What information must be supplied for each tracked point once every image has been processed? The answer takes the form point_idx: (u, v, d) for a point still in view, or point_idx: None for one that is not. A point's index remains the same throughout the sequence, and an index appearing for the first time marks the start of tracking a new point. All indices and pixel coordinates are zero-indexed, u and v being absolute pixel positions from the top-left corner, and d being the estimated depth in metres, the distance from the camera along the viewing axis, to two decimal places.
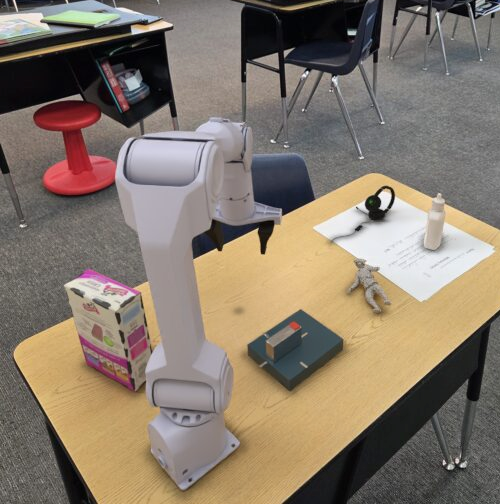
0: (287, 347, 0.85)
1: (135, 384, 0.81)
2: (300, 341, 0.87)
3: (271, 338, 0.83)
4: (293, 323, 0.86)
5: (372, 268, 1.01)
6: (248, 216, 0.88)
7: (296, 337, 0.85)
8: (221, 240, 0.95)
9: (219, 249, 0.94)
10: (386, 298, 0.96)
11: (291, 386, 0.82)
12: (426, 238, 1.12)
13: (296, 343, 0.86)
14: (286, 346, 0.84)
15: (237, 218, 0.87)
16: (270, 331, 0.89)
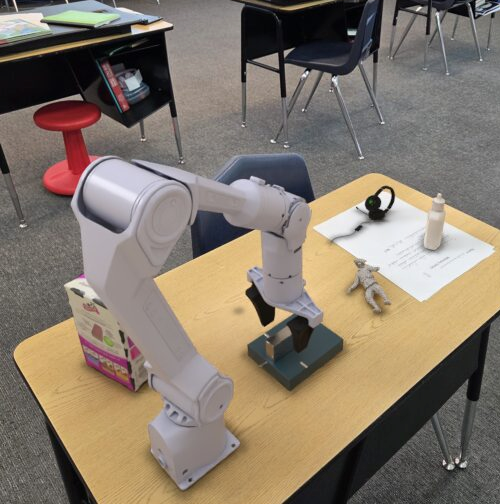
0: (287, 347, 0.85)
1: (135, 384, 0.81)
2: None
3: (271, 338, 0.83)
4: None
5: (372, 268, 1.01)
6: (284, 301, 0.77)
7: None
8: (268, 315, 0.86)
9: (262, 323, 0.85)
10: (386, 298, 0.96)
11: (291, 386, 0.82)
12: (426, 238, 1.12)
13: None
14: (286, 346, 0.84)
15: (271, 297, 0.77)
16: (270, 331, 0.89)
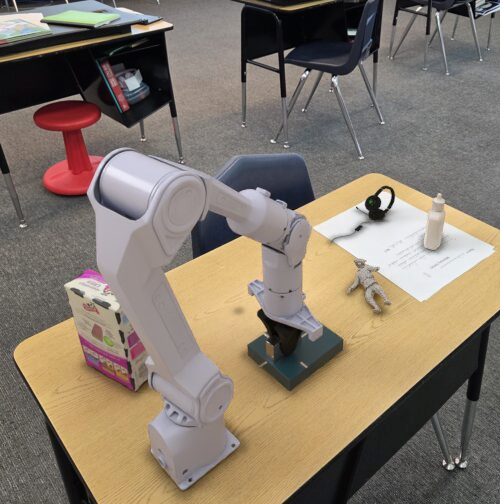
0: None
1: (135, 384, 0.81)
2: (300, 341, 0.87)
3: (271, 338, 0.83)
4: None
5: (372, 268, 1.01)
6: (284, 315, 0.78)
7: None
8: None
9: None
10: (386, 298, 0.96)
11: (291, 386, 0.82)
12: (426, 238, 1.12)
13: None
14: None
15: (272, 311, 0.78)
16: None
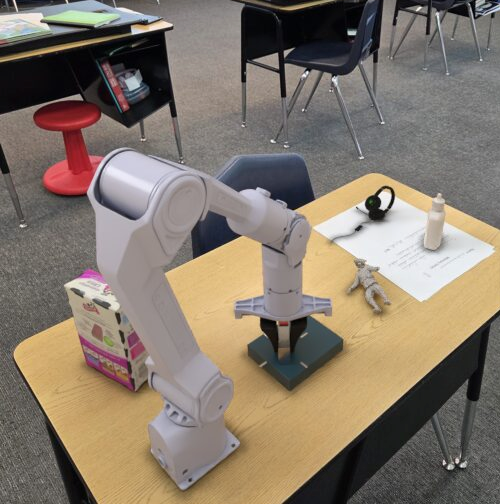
0: None
1: (135, 384, 0.81)
2: None
3: (280, 343, 0.82)
4: None
5: (372, 268, 1.01)
6: (298, 310, 0.79)
7: None
8: (277, 339, 0.85)
9: (276, 350, 0.84)
10: (386, 298, 0.96)
11: (291, 386, 0.82)
12: (426, 238, 1.12)
13: None
14: None
15: (287, 313, 0.78)
16: None
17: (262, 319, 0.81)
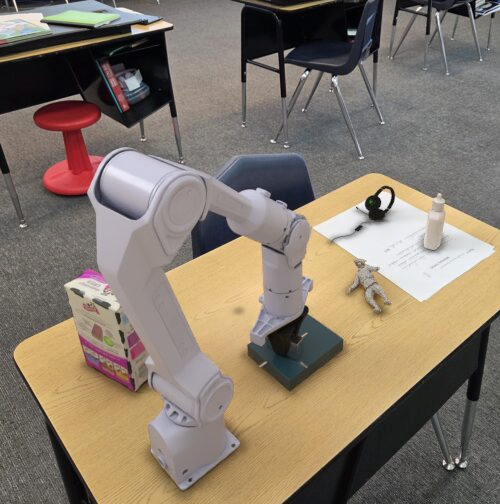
0: None
1: (135, 384, 0.81)
2: None
3: (293, 341, 0.83)
4: None
5: (372, 268, 1.01)
6: None
7: None
8: None
9: (286, 352, 0.84)
10: (386, 298, 0.96)
11: (291, 386, 0.82)
12: (426, 238, 1.12)
13: None
14: None
15: (301, 304, 0.80)
16: None
17: (277, 330, 0.79)
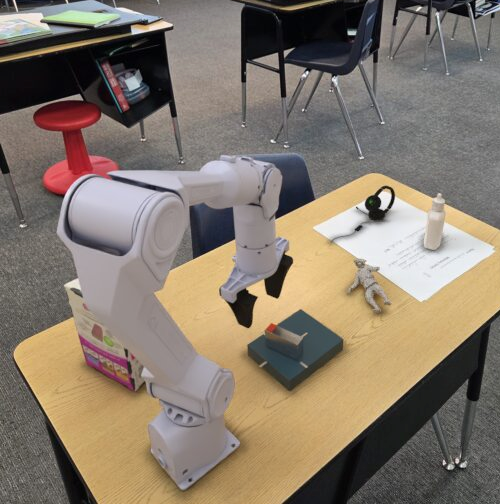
0: None
1: (135, 384, 0.81)
2: None
3: (293, 341, 0.83)
4: (269, 327, 0.85)
5: (372, 268, 1.01)
6: None
7: None
8: None
9: (251, 324, 0.80)
10: (386, 298, 0.96)
11: (291, 386, 0.82)
12: (426, 238, 1.12)
13: None
14: None
15: (274, 262, 0.78)
16: None
17: (239, 298, 0.75)
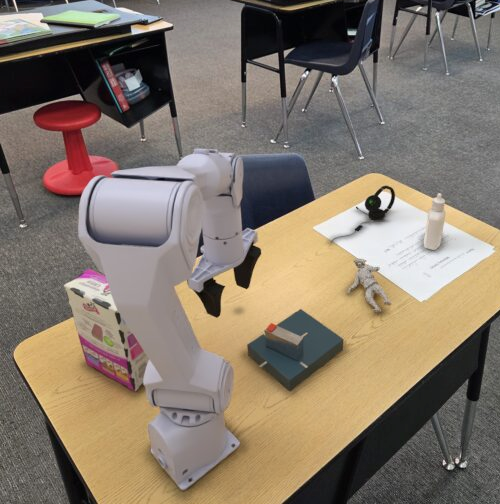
0: None
1: (135, 384, 0.81)
2: None
3: (293, 341, 0.83)
4: (269, 327, 0.85)
5: (372, 268, 1.01)
6: (242, 247, 0.82)
7: None
8: None
9: (219, 313, 0.82)
10: (386, 298, 0.96)
11: (291, 386, 0.82)
12: (426, 238, 1.12)
13: None
14: None
15: (241, 253, 0.80)
16: None
17: (206, 288, 0.77)
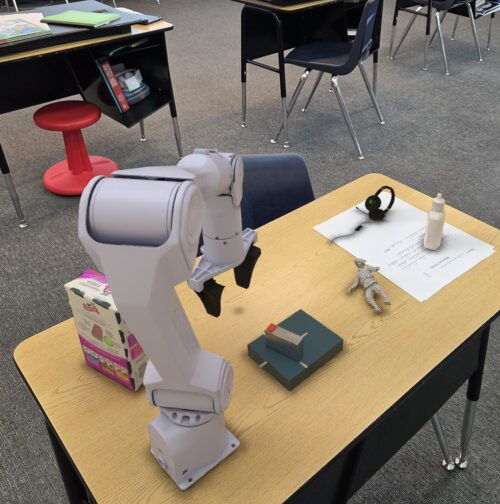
0: None
1: (135, 384, 0.81)
2: None
3: (293, 341, 0.83)
4: (269, 327, 0.85)
5: (372, 268, 1.01)
6: (242, 247, 0.82)
7: None
8: None
9: (219, 313, 0.82)
10: (386, 298, 0.96)
11: (291, 386, 0.82)
12: (426, 238, 1.12)
13: None
14: None
15: (241, 253, 0.80)
16: None
17: (206, 288, 0.77)
